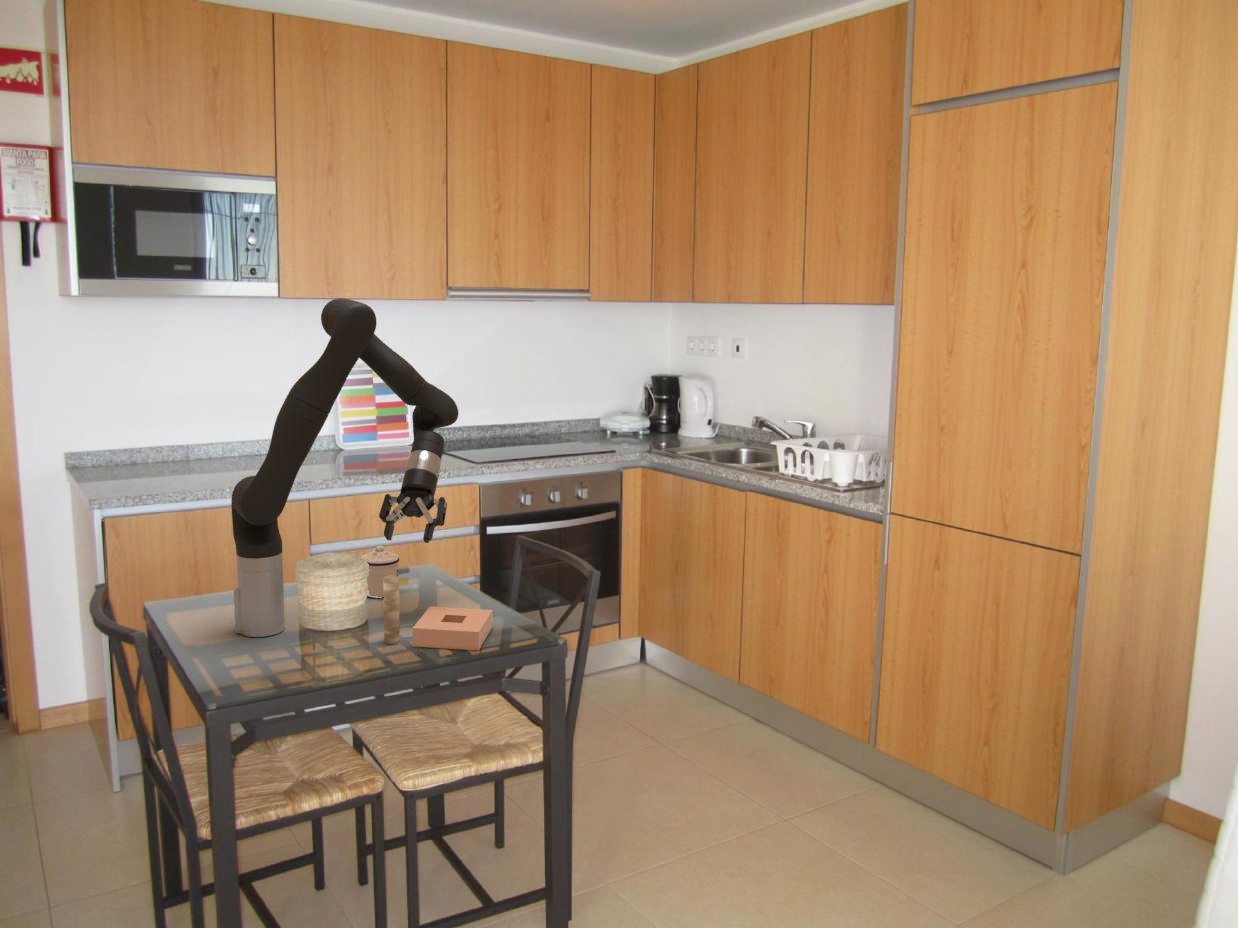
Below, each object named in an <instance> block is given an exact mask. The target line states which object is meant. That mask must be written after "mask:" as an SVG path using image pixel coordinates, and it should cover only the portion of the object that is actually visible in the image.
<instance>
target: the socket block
mask: <svg viewBox="0 0 1238 928" xmlns="http://www.w3.org/2000/svg"><path fill="white" fill-rule="evenodd" d="M493 613H494V610H493V609H481V608H480V609H479V608H466V607H465V608H461V607H448V606H446V607H445V606H429V607H428V609H427V610H426V611H425V612H424V613H423V615H422V616H421V617H420V618H419V619H418V621H417V622H416V623H415V625H414V626H413V627H412V628H411V629H412V631H411V632H412V636H411V637H412V647H414V648H415V647H417V648H432V649H434V648H435V649H448V650H449V649H450V650H451V649H452V650H464V651H465V650H468V651H480V649H481V647H482V646H483V644H484V643H485V640H486V639H487V638H488V636H489V634H490V633H491V631H492V629H493V623H494V622H493V618H494V617H493V615H494V614H493Z"/></svg>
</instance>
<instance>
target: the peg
mask: <svg viewBox="0 0 1238 928" xmlns="http://www.w3.org/2000/svg"><path fill="white" fill-rule="evenodd" d="M383 590H384V598H383V642H384V644H386V645H396V643H397V644H399V643H400V642H401V640H400V636H401V635H400V634H401V633H400V630H401V627H400V624H401V623H400V577H398V576H393V575H391V576H385V577H384V578H383Z"/></svg>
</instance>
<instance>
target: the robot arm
mask: <svg viewBox="0 0 1238 928" xmlns="http://www.w3.org/2000/svg"><path fill="white" fill-rule="evenodd" d="M320 321H321V327H322V328H323V330H324V332H325V333H326V334H327V335H328V336H329V337H330V339H329V340H328V343H327V345H326V347H325V349H324V350H323V352H322V354H321V355H320V357H319V358H318V360H317V361H316V362H315V363H314V364H313V365H312V366H311V367H310V368H309V369H308V370H306V372H305V373H303V375H301V377H299V378H298V380H296V382H295V383H294V384H293V385H292V387H291V388H290V390H289V392H288V393H287V396H286V397H285V399H284V401H283V403H282V405H281V407H280V409H279V411H278V413H277V417H276V419H275V422H274V425H273V429H272V434H271V438H270V444H269V447H268V450H267V454H266V456H265V459H264V461H263V462H262V464H261V465H260V468H259V469H258V470H257V473H256V474H255V475H249V476H246V477H244V478H242V479H241V480H240V481H238V482H237V483H236V485H235V486H234V488H233V489H232V493H231V503H230V504H231V505H230V506H231V518H232V520H231V521H232V535H233V539H234V544H235V553H236V555H235V556H236V574H237V578H236V579H237V587H236V588H235V589H234V590H233V605H234V630H235V634H240V635H242V636H244V637H250V638H262V637H264V638H265V637H270V636H274V635H277V634H280V633H282V632H284V630H285V628H286V627H285V626H286V625H285V622H286V621H285V620H286V619H285V597H284V596H285V594H284V593H285V589H284V565H283V564H284V562H283V559H284V558H283V539H282V537H281V533H280V530H279V529H280V528H279V523H278V522H279V521H278V518H279V517H280V516H281V514H282V513H283V511H284V509H285V506H286V505H287V502H288V498H289V497H290V494H291V491H292V488H293V485H294V483H295V481H296V478H297V475H298V473H299V471H300V469H301V467H302V465H303V463H304V462H305V460H306V458H307V456H308V455H309V453H310V452H311V450H312V447H313V444H315V441H316V439H317V438H318V436H319V435H320V432H321V431H322V428H323V427H324V424H325V423H326V422H327V419H328V417H329V415H330V413H331V411H332V408H333V407H334V404H335V403H336V400H337V398H338V396H339V394H340V393H341V390H342V389H343V388H344V385H345V383H346V381H347V379H348V377H349V376H350V373H351V371H352V370H353V368H354V366H355V365H356V364H357V362H358V360H359V359H360V360H361V361H362V362H363V363H365V364H366V366H368V367H369V368H370V369H371V370H372V372H374V373H375V374H376V375H377V376H378V377H379V378H380V379H381V381H383V382H384V383H385V384H386V386H387V387H388V388H389V389H390V390H391V391H392V392H393V393H394V394H395V395H396V396H397V397H398V398H399V399H400V400H401V402H403V403H405V404H406V405H408V406H412V407H414V409H413V411H412V416H411V417H412V418H411V419H412V429H413V430H412V434H413V442H412V446H411V450H410V454H409V458H408V459H407V463H406V466H405V470H404V475H403V478H402V483H401V487H400V493H399V495H398V496H391V494H389V493H386V494H385V495H384V497H383V498H384V499H383V500H382V501H383V502H382V505H381V508H380V511H379V514H378V518H379V519H380V520H381V522H382V523H385V525H384V530H383V536H384V537H385V539H386V540H387V541H392V539H393V534H394V530H395V524H396V523H397V522H399V521H401V520H403V518H405V517H407V518H412V517H413V518H414V517H415V518H421V517H424V518H425V519H426V521H427V523H426V524H425V528H424V533H423V536H422V540H423V542H424V543H426V544H429V542H430V541H432V540H433V537H434V533H435V528H436V527H438V526H440V527H443V526H444V525H445V523H446V522H445V521H446V513H447V507H448V502H447V500H446V499H445V497H444V496H440V497H439V498H435V494H436V490H437V486H438V482H439V478H440V472H441V461H442V458H443V452H444V448H445V439H444V437H443V436H442V434H440V433H439V432H436V431H435V430H437V429H440V428H444V427H448V426H451V425H453V424H455V423H456V421H458V418H459V408H458V405H457V403H456V402H455V400H454V399H453V398H452V397H451V396H450V395H449V394H448V393H446V392H444V390H441V389H440V388H438V387H437V386H435V385H433V384H431V383H430V382H429V381H426V379H425V378H424V377H423V376H422V375H421V374H420V373H419V372H418V371H417V370H416V368H415V367H413V365H412V364H411V363H410V362H409V361H407V360H406V359H405V358H404V357H402V356H401V355H400V354H399V353H397V352H396V351H394V350H393V349H392V348H390V347H389V346H388V345H387V344H386V343H385V342H384V341H383V340H381V339H380V338H379V337H378V336H377V335H376V333H375V331H376V330H377V323H378V322H377V315H376V314H375V311H374V309H373V308H372V307H371V306H370V305H368V304H367V303H363V302H360V301H357V300H353V299H350V298H335V299H332V300H330V301H328V302H327V303H326V304H325V305H324V306H323V309H322V310H321V315H320ZM396 504H397V506H395V505H396ZM394 506H395V508H394V509H393V510H392V507H394ZM434 506H436V509H437V511H436V517H435V518H433V517H432V515H431V514H430V512H429V511H430V510H431V509H433V507H434ZM391 510H392V512H391Z"/></svg>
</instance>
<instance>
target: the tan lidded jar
mask: <svg viewBox="0 0 1238 928" xmlns="http://www.w3.org/2000/svg"><path fill="white" fill-rule="evenodd" d="M361 558H362V559H364V560H365V561H367V563H368V564H369V570H370V571H369V576H368V580H367V581H368V589H369V594H370V595H371V596H378V597H383V596H384V590H383V578H384V577H385V576H391V575H393V576H398V577H399V561H400V557H399V555H398V554H397V553H394V552H390V551H389V550H386V549H385V547H384V546H383V545H378V546H375V549H374V550H372V551H370V552H368V553H365V554H363V555H362V556H361ZM361 558H360V559H361ZM399 578H400V577H399Z"/></svg>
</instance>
